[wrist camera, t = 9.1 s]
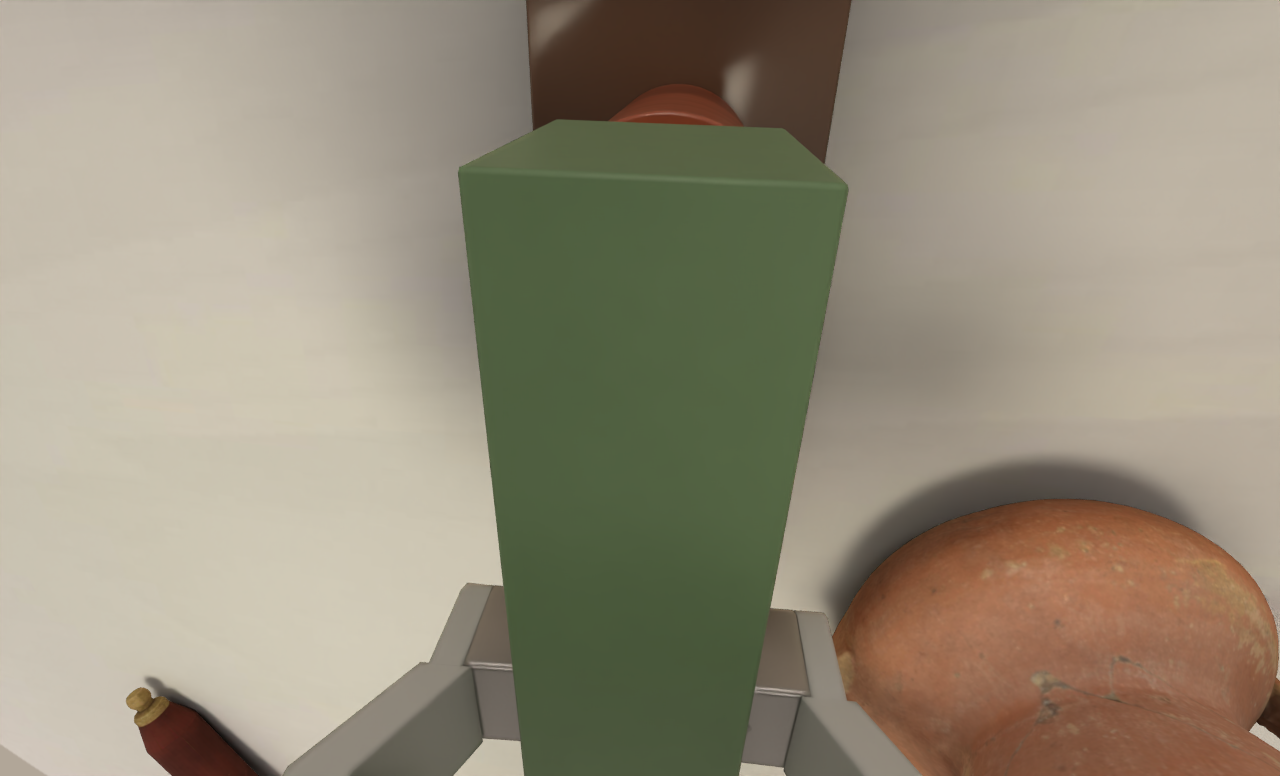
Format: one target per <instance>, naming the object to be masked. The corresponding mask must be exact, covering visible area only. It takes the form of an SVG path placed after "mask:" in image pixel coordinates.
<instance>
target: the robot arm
mask: <svg viewBox="0 0 1280 776" xmlns="http://www.w3.org/2000/svg"><path fill="white" fill-rule="evenodd" d="M482 738H485V739H500V740H514V741H520V732H519V723H518V714H517V705H516V696H515V687H514V678H513V668H512V659H511V650H510V641H509V632H508V623H507V614H506V605H505V596H504V587H503V586H497V585H495V586H494V585H484V584H475V583H467V584H466V585H465V586H464V587H463V588H462V589H461V591H460V593H459V595H458V598H457V600H456V602H455V604H454V607H453V609H452V611H451V614H450V616H449V618H448V620H447V623H446V625H445V627H444V630H443V632H442V634H441V636H440V639H439V641H438V643H437V645H436V648H435V650H434V652H433V655H432V657H431V659H430V661H429V663H426V662H420V663H419V664H417V665H416V666H415V667H414V668H412V669H411V670H410V671H409V672H407V673H406V674H405V675H403V676H402V677H401V678H400V679H398V680H397V681H396V682H395V683H393V684H392V685H391V686H389V687H388V688H387V689H386V690H384V691H383V692H382V693H381V694H379V695H378V696H377V697H376V698H374V699H373V700H372V701H370V702H369V703H368V704H367V705H365V706H364V707H363V708H362V709H360V710H359V711H358V712H356V713H355V714H354V715H353V716H351V717H350V718H349V719H348V720H346V721H345V722H344V723H342V724H341V725H340V726H339V727H337V728H336V729H335V730H334V731H332V732H331V733H330V734H329V735H327V736H326V737H325V738H323V739H322V740H321V741H320V742H318V743H317V744H316V745H315V746H313V747H312V748H311V749H309V750H308V751H307V752H306V753H304V754H303V755H302V756H301V757H299V758H298V759H297V760H296V761H294V762H293V763H292V764H290V765H289V766H288V767H287V769H286V770H285V772H284V774H283V776H453V775H454V774H455V773H456V772H457V771H458V769H459V768H460V767H461V766H462V765H463V764H464V763H465V761H466V760H467V759H468V758H469V757H470V756H471V755H472V754H473V752H474V751H475V750H476V749H477V748H478V747H479V746H480V744H481V743H482V742H483V740H482ZM741 762H743V763H751V764H759V765H767V766H775V767H783V768H784V772H785V774H786V775H787V776H922V774H921V773H920V772H919V771H918V770H917V769H916V768H915V767H914V766H913V764H912V763H911V762H910V761H909V760H908V759H907V758H906V757H905V755H904V754H903V753H902V752H901V751H900V750H899V749H898V748H897V747H896V745H895V744H894V743H893V742H892V741H891V740H890V739H889V738H888V736H887V735H886V734H885V733H884V732H883V731H882V730H881V729H880V728H879V726H878V725H877V724H876V723H875V722H874V721H873V720H872V719H871V718H870V716H869V715H868V714H867V713H866V712H865V711H864V710H863V709H862V707H861V706H860V705H859V704H858V703H857V702H854V701H847V698H846V694H845V690H844V685H843V681H842V677H841V673H840V669H839V664H838V660H837V656H836V652H835V648H834V643H833V639H832V635H831V631H830V627H829V622H828V618H827V617H826V615H825V614H824V613H822V612H809V611H796V610H794V611H793V610H788V609H774V608H770V611H769V617H768V622H767V627H766V633H765V638H764V643H763V649H762V654H761V659H760V665H759V670H758V675H757V681H756V686H755V691H754V697H753V702H752V707H751V713H750V718H749V723H748V729H747V734H746V739H745V745H744V750H743V755H742V761H741Z"/></svg>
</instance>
